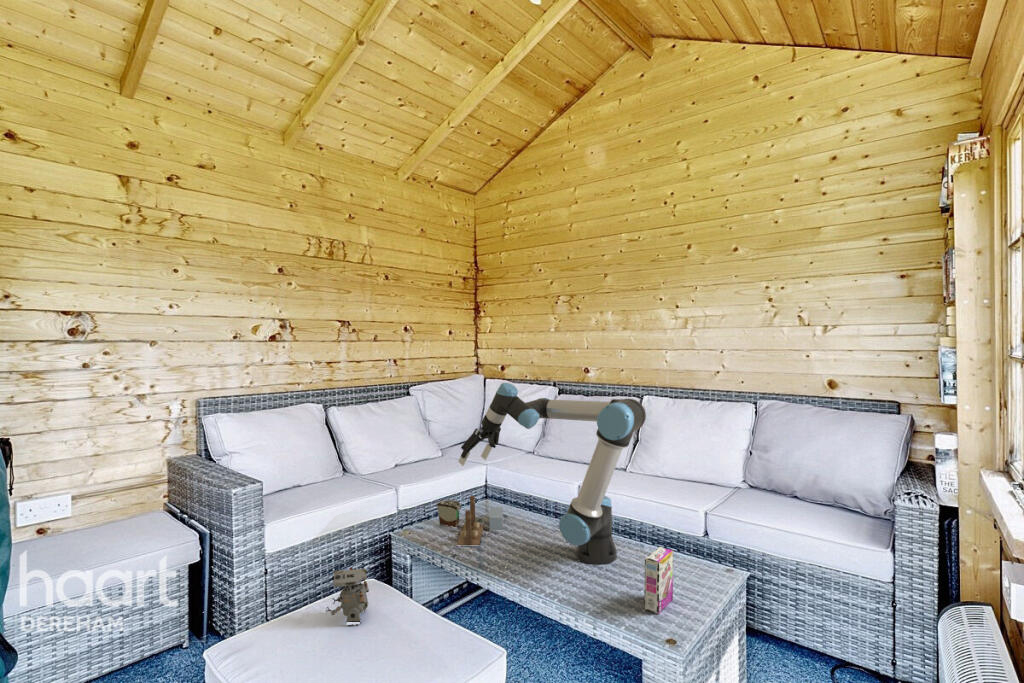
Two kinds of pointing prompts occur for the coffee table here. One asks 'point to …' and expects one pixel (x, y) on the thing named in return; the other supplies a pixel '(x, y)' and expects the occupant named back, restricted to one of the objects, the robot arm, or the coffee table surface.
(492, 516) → the shelf board
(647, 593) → the candy bar box
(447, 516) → the food container
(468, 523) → the peg stand
